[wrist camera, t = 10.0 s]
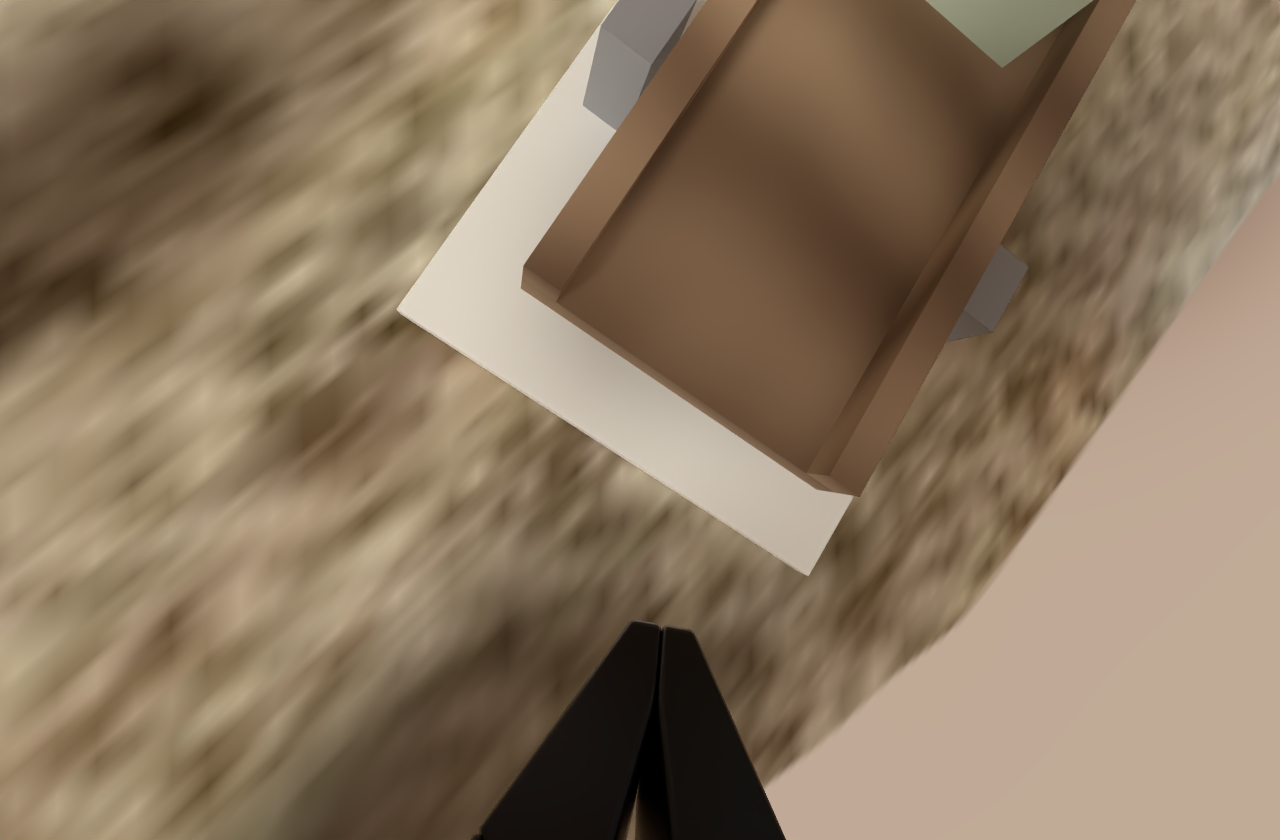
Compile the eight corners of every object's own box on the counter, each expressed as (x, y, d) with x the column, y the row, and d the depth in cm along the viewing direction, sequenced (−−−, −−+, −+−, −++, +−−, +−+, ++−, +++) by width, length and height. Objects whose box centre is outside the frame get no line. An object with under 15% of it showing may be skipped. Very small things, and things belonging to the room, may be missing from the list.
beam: (806, 488, 18) (904, 503, 14) (520, 293, 17) (526, 240, 12) (1138, -91, 22) (1302, -229, 17) (927, -300, 20) (1049, -512, 16)
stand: (797, 571, 22) (876, 608, 17) (400, 314, 19) (367, 276, 15) (1130, -13, 26) (1269, -113, 21) (835, -296, 23) (920, -483, 18)
